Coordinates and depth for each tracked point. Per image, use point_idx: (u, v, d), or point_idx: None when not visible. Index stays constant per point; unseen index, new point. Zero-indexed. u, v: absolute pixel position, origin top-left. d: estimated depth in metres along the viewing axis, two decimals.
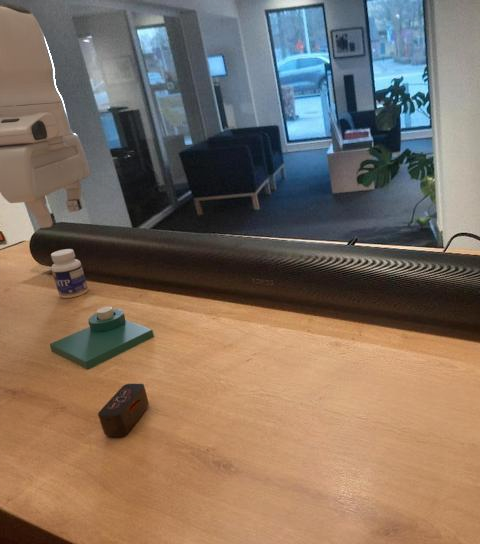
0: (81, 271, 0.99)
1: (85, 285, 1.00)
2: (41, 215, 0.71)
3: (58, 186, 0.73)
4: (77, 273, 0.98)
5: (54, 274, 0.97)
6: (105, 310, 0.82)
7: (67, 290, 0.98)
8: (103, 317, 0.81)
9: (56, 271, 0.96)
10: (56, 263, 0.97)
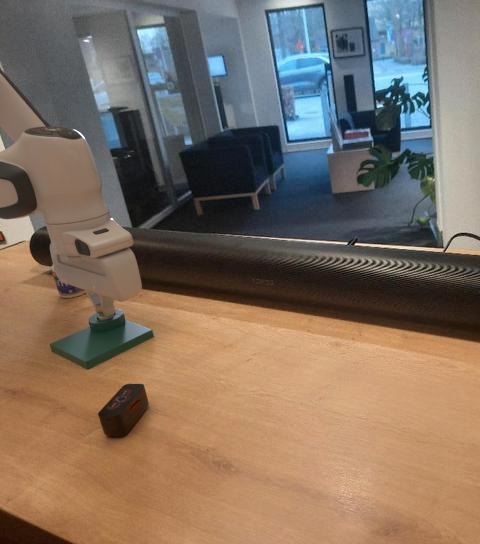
0: None
1: None
2: (108, 305, 0.81)
3: None
4: None
5: (54, 274, 0.97)
6: None
7: (67, 290, 0.98)
8: None
9: None
10: None
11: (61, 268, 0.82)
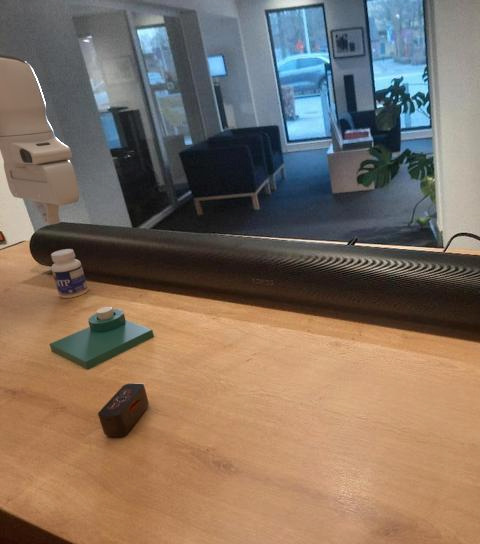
0: (81, 271, 0.99)
1: (85, 285, 1.00)
2: (53, 214, 0.94)
3: None
4: (77, 273, 0.98)
5: (54, 274, 0.97)
6: (105, 310, 0.82)
7: (67, 290, 0.98)
8: (103, 317, 0.81)
9: (56, 271, 0.96)
10: (56, 263, 0.97)
11: (14, 183, 0.95)
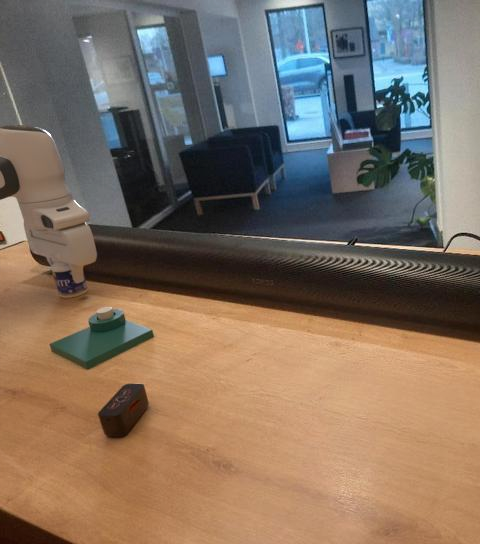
0: None
1: (85, 285, 1.00)
2: (78, 273, 0.97)
3: None
4: None
5: (54, 274, 0.97)
6: (105, 310, 0.82)
7: (67, 290, 0.98)
8: (103, 317, 0.81)
9: (56, 271, 0.96)
10: (56, 263, 0.97)
11: (33, 241, 0.99)
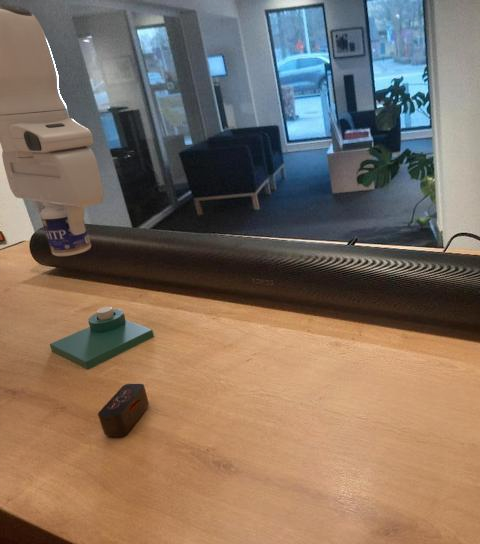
0: None
1: (87, 240, 0.74)
2: (77, 221, 0.70)
3: None
4: None
5: (44, 222, 0.70)
6: (105, 310, 0.82)
7: (62, 245, 0.71)
8: (103, 317, 0.81)
9: (46, 217, 0.70)
10: (47, 207, 0.70)
11: (15, 179, 0.72)
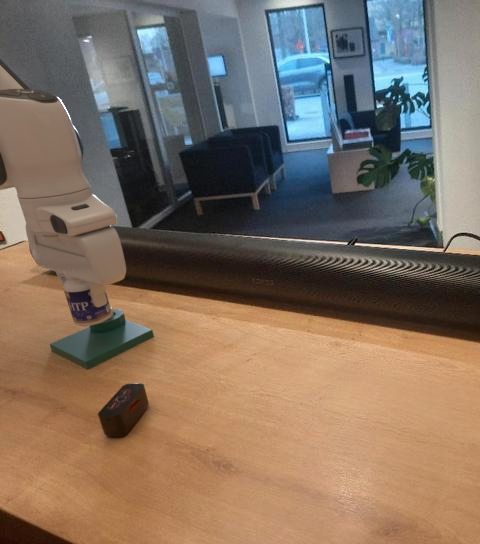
0: None
1: (108, 308, 0.75)
2: (99, 294, 0.71)
3: None
4: None
5: (67, 295, 0.72)
6: None
7: (84, 316, 0.73)
8: None
9: (70, 290, 0.71)
10: (70, 280, 0.72)
11: (38, 250, 0.74)
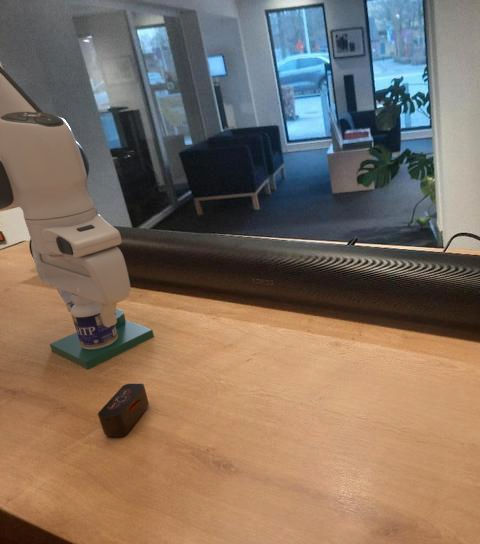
0: None
1: (114, 332, 0.77)
2: (109, 314, 0.72)
3: None
4: None
5: (75, 320, 0.73)
6: None
7: (91, 340, 0.74)
8: None
9: (77, 315, 0.73)
10: (77, 305, 0.73)
11: (44, 268, 0.75)
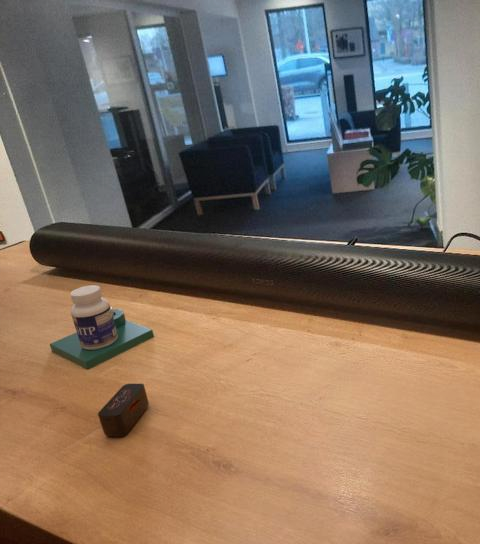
0: (110, 314, 0.76)
1: (114, 332, 0.77)
2: None
3: None
4: (105, 318, 0.75)
5: (75, 320, 0.73)
6: None
7: (91, 340, 0.74)
8: None
9: (77, 315, 0.73)
10: (77, 305, 0.73)
11: None
